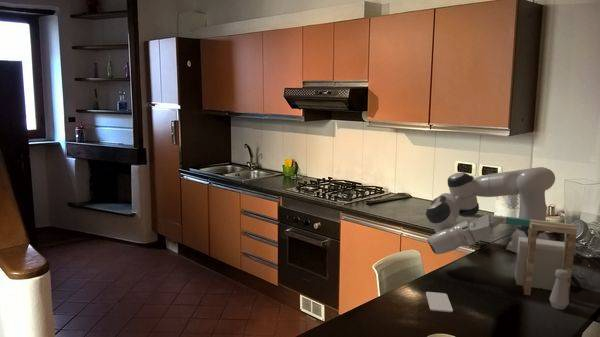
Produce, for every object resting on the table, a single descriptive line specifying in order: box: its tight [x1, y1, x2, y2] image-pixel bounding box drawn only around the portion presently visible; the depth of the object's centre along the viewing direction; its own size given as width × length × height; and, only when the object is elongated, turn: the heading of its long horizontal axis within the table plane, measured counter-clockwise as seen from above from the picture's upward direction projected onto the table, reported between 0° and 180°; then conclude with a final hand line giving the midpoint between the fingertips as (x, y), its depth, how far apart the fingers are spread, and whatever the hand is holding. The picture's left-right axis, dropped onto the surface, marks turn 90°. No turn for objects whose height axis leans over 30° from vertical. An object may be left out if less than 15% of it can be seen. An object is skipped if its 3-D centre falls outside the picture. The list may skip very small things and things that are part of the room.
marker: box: [491, 214, 543, 227], centre depth 185 cm, size 2×20×2 cm, turn 70°
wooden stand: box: [522, 219, 578, 296], centre depth 174 cm, size 7×14×26 cm, turn 70°
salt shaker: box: [549, 269, 570, 311], centre depth 164 cm, size 6×6×13 cm
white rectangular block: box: [514, 237, 565, 291], centre depth 184 cm, size 10×16×16 cm, turn 70°
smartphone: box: [425, 291, 454, 313], centre depth 166 cm, size 7×1×15 cm
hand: (502, 218), depth 187 cm, fingers closed on marker, 2 cm apart
